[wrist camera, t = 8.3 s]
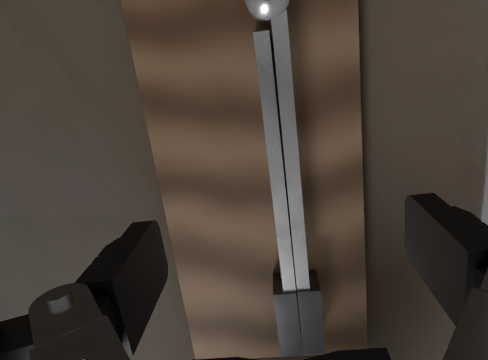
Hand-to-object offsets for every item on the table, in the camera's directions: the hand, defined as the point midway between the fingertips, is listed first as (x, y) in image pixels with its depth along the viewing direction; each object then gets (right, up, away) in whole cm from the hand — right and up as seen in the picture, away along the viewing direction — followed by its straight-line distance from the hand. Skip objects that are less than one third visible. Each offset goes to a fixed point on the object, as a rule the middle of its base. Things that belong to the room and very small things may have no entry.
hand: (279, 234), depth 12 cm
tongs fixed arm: (+2, +2, +17) cm, 17 cm away
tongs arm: (+1, 0, +17) cm, 17 cm away
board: (0, +2, +19) cm, 19 cm away
